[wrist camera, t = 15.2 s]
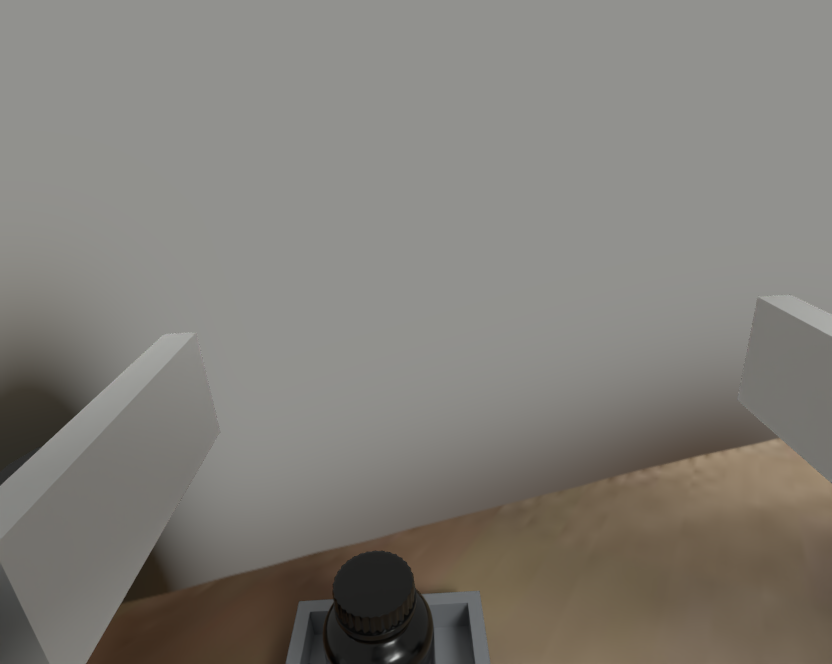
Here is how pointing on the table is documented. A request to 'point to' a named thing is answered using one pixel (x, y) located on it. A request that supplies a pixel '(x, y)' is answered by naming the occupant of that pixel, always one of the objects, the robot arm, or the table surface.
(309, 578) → the table surface
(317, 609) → the tray
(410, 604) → the supplement bottle
